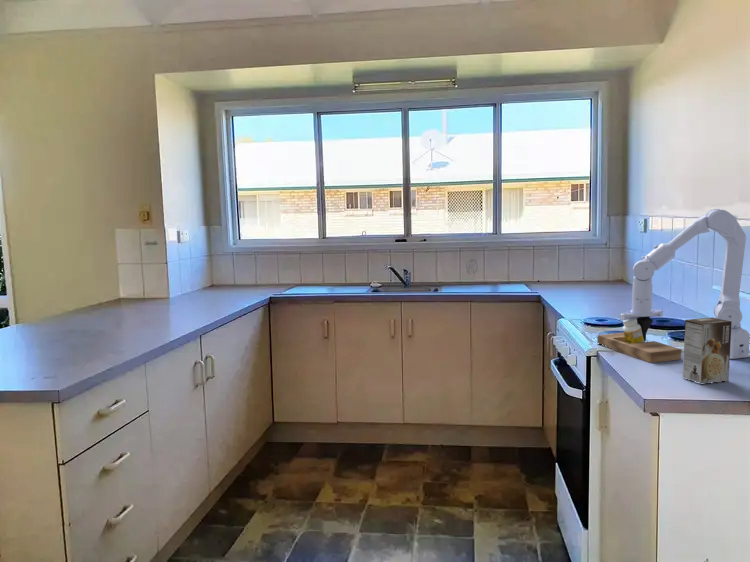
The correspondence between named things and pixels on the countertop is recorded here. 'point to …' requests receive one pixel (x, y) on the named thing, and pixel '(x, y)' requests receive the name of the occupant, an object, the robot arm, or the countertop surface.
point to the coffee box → (707, 350)
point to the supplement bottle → (632, 331)
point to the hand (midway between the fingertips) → (640, 340)
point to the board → (640, 348)
